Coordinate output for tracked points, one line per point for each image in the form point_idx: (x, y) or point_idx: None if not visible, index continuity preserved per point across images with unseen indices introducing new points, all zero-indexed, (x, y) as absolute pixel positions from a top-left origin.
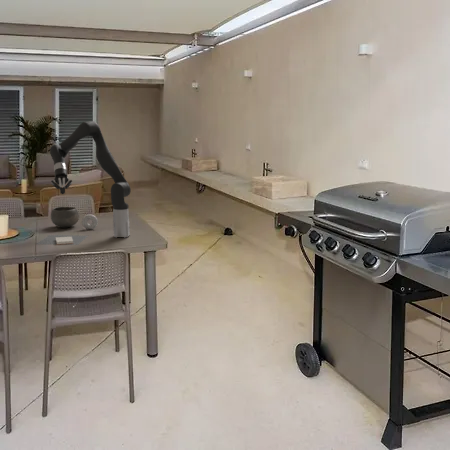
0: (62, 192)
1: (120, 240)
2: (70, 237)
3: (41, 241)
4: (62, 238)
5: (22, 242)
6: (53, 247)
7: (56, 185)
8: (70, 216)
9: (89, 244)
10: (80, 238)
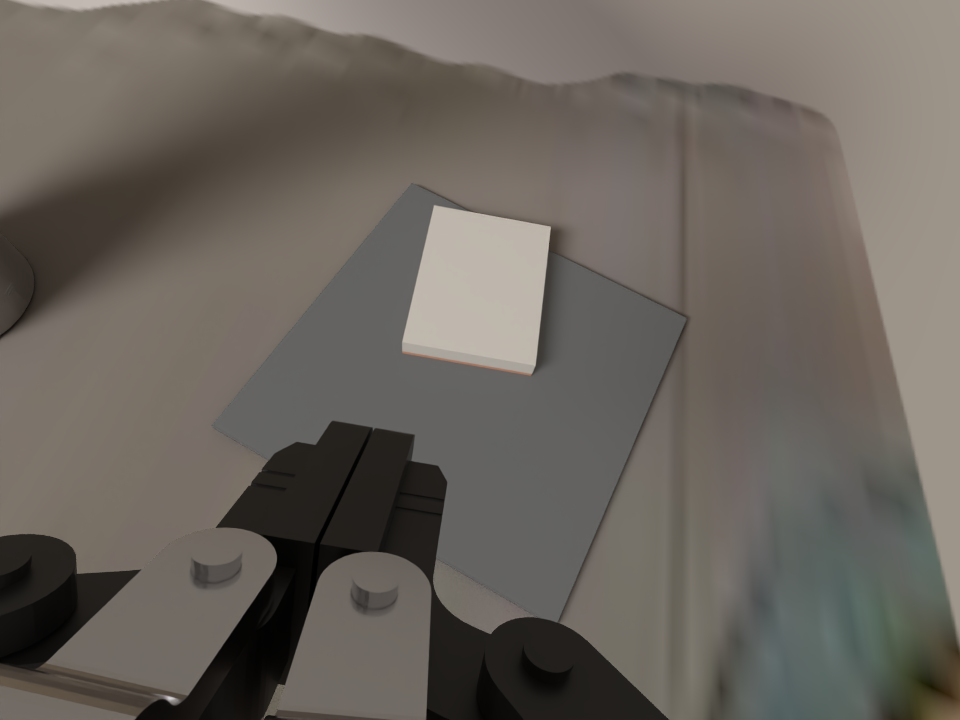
0: (388, 430)
1: (71, 184)
2: (420, 313)
3: (643, 381)
4: (489, 308)
5: (785, 449)
6: (574, 210)
7: (627, 698)
8: None
9: (332, 179)
10: (326, 344)
